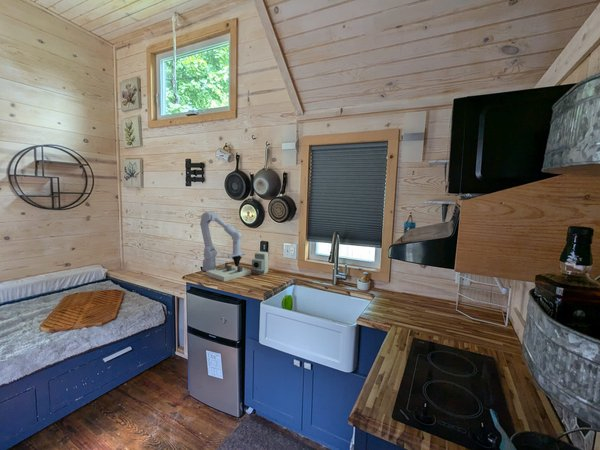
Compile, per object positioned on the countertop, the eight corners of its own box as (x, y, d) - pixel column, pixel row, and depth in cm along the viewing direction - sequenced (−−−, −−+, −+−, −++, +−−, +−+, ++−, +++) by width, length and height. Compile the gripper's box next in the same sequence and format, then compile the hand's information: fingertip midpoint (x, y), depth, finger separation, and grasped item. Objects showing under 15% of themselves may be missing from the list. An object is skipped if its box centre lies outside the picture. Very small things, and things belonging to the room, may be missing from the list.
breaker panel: (206, 275, 202) (206, 266, 202) (233, 268, 221) (233, 260, 220) (224, 281, 190) (224, 271, 189) (251, 273, 209) (251, 265, 208)
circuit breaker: (250, 275, 205) (251, 255, 203) (259, 270, 218) (259, 251, 217) (260, 276, 203) (260, 256, 201) (268, 271, 216) (268, 252, 214)
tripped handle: (226, 269, 205) (226, 264, 205) (228, 269, 207) (228, 263, 206) (229, 270, 204) (229, 265, 203) (231, 270, 205) (231, 264, 205)
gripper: (232, 250, 201) (232, 269, 202) (248, 247, 212) (247, 265, 214) (226, 248, 205) (226, 267, 207) (241, 246, 217) (241, 263, 218)
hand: (236, 266), depth 211 cm, fingers closed
